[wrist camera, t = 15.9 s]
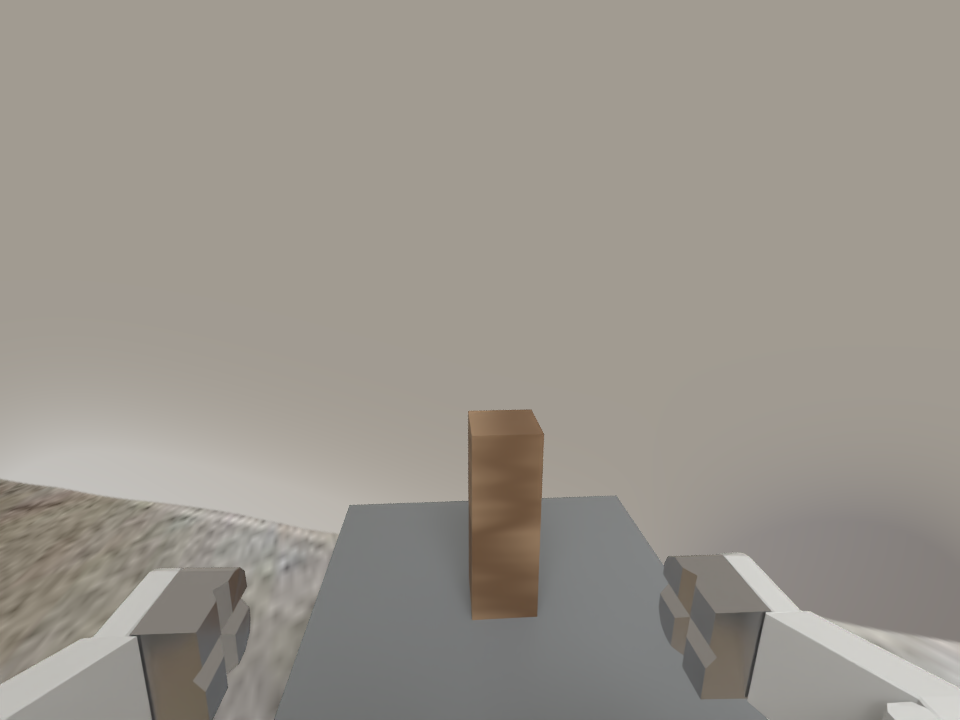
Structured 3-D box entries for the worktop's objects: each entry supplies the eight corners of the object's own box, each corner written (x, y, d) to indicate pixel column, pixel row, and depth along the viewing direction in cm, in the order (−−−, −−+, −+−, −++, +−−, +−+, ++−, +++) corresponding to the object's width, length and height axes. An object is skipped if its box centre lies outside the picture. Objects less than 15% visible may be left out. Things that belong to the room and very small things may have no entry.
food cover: (273, 1050, 17) (195, 558, 12) (359, 642, 34) (340, 372, 29) (759, 995, 18) (859, 530, 14) (605, 628, 36) (626, 367, 31)
